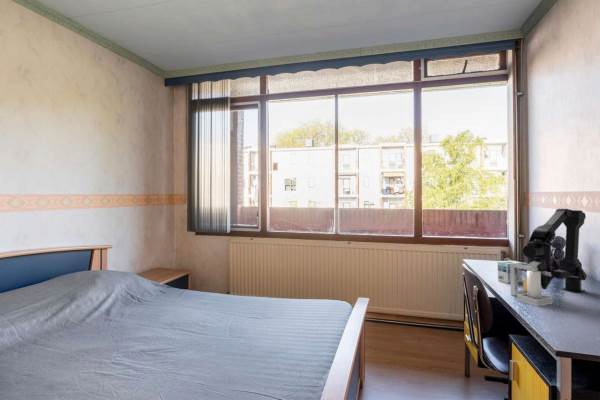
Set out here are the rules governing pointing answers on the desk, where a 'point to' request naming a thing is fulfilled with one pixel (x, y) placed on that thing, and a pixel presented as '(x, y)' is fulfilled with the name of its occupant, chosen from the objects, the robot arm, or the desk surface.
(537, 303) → the gray square tray
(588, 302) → the desk surface
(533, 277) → the white cylinder
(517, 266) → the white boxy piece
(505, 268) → the light bulb box
